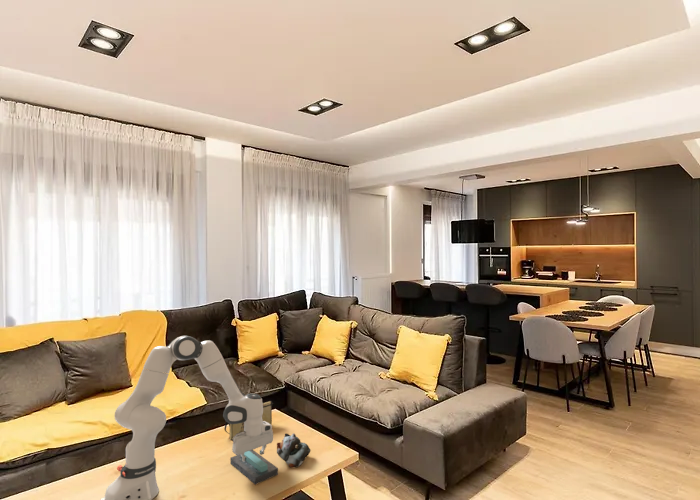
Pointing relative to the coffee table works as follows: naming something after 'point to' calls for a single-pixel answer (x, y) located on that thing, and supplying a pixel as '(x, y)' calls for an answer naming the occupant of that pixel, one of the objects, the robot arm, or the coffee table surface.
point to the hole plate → (250, 470)
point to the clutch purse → (240, 427)
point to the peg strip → (255, 461)
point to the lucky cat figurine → (292, 450)
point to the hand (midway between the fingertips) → (253, 457)
